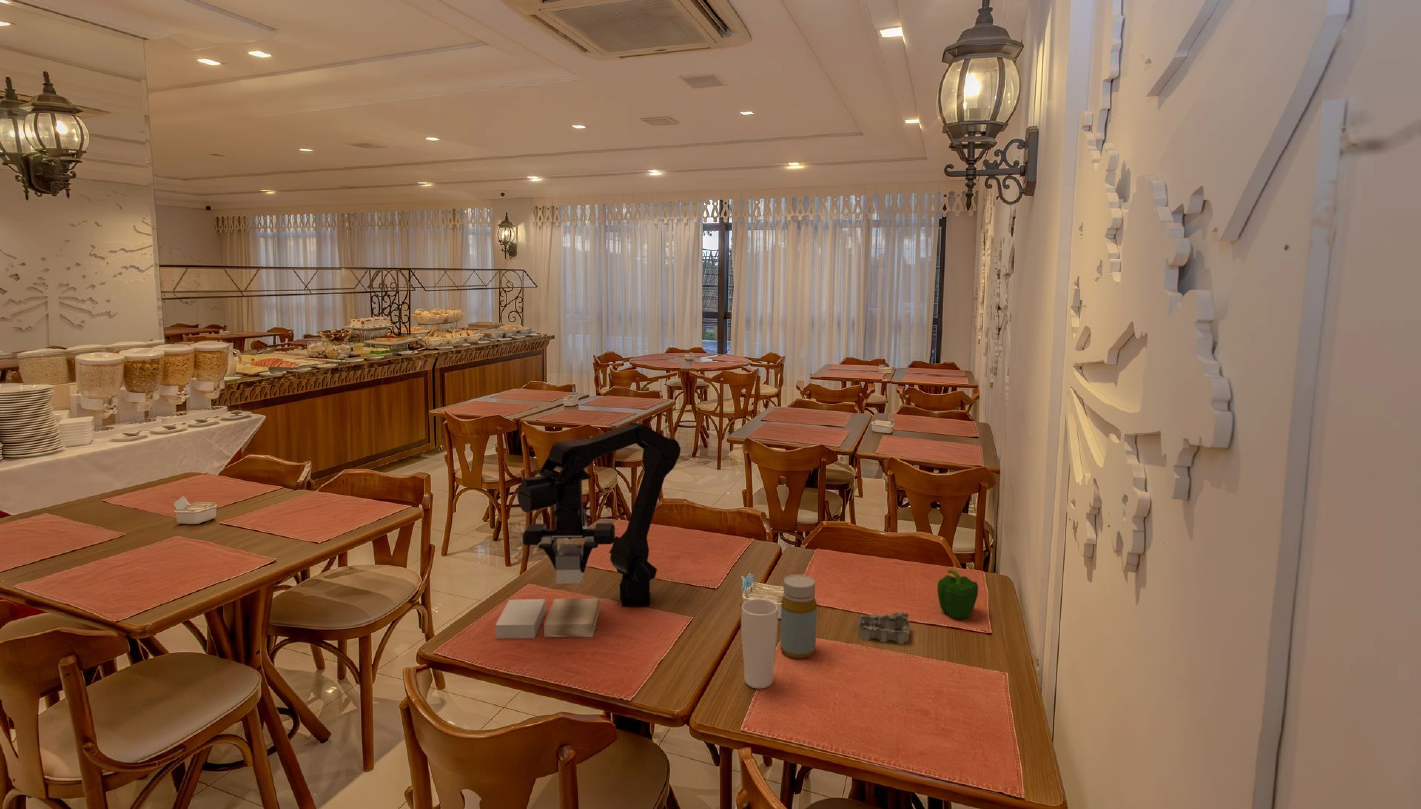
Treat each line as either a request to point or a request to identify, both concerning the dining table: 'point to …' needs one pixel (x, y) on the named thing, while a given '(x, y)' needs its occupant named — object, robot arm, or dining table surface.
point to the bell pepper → (957, 595)
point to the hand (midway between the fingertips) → (570, 572)
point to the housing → (569, 564)
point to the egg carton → (884, 621)
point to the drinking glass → (759, 641)
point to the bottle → (798, 617)
